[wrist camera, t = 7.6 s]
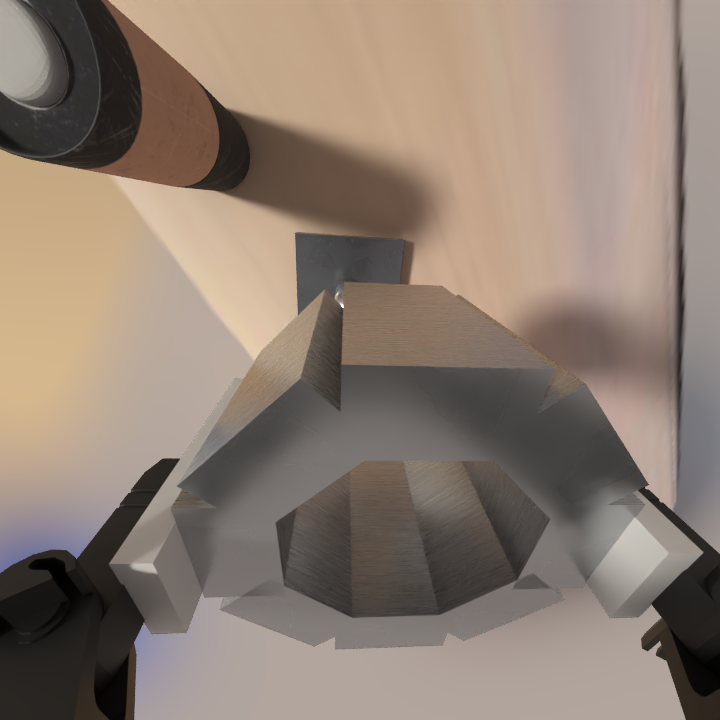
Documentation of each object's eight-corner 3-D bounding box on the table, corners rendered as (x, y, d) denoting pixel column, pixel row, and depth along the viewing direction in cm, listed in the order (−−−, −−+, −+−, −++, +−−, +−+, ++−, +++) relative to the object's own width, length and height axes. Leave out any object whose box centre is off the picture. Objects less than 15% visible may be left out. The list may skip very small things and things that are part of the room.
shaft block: (297, 232, 32) (280, 238, 24) (402, 239, 33) (422, 247, 24) (300, 331, 37) (287, 365, 29) (390, 336, 38) (403, 370, 30)
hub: (244, 277, 9) (113, 359, 4) (533, 289, 10) (744, 373, 5) (271, 486, 14) (226, 653, 9) (470, 485, 15) (542, 641, 9)
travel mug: (266, 180, 30) (146, 128, 12) (199, 204, 30) (-7, 188, 13) (230, 86, 26) (-12, -182, 9) (156, 116, 27) (-210, -76, 9)
